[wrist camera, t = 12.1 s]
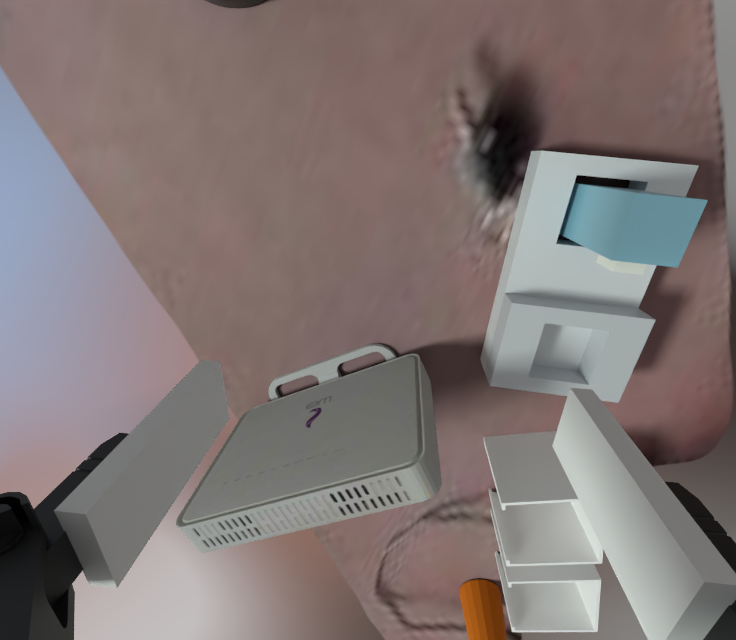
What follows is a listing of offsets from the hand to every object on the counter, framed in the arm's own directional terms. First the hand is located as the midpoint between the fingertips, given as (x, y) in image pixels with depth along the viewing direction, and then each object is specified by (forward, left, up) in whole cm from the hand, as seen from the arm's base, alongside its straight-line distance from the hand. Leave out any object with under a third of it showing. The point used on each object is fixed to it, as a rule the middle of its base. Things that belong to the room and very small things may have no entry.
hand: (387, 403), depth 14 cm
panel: (+2, +19, -30) cm, 36 cm away
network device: (+21, -6, -30) cm, 37 cm away
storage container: (+36, +24, -31) cm, 53 cm away
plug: (-5, +19, -30) cm, 36 cm away
